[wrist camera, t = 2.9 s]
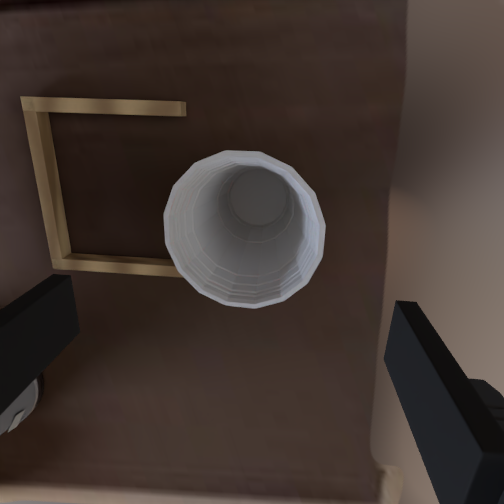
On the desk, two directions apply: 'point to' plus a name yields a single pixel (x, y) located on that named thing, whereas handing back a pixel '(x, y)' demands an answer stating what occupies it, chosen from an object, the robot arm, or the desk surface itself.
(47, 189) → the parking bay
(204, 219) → the plastic cup
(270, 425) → the desk surface
